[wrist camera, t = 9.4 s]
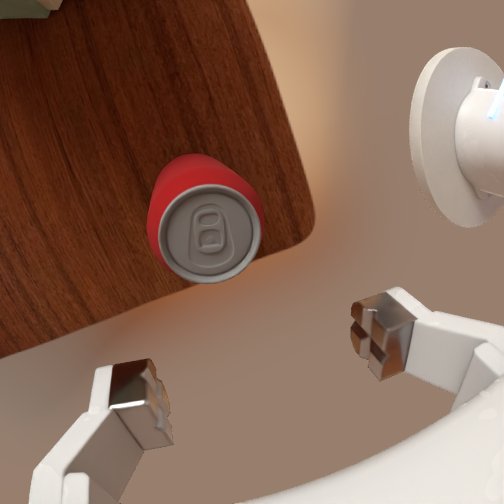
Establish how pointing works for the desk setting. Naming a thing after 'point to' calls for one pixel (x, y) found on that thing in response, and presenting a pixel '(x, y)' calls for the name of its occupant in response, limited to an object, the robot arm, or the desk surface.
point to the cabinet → (22, 9)
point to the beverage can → (204, 220)
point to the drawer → (51, 4)
